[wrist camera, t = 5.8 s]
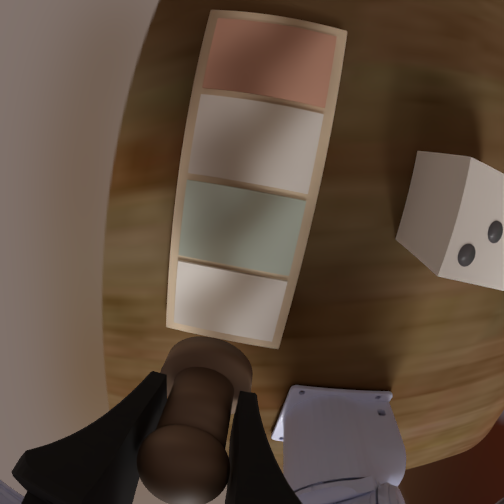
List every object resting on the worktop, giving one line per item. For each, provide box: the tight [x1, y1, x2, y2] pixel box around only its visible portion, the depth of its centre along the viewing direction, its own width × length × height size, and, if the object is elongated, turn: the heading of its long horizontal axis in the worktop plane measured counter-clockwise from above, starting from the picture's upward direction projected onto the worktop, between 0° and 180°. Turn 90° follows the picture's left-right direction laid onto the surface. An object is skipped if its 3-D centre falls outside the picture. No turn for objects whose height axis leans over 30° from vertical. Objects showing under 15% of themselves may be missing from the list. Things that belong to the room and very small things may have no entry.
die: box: [396, 151, 504, 291], centre depth 14 cm, size 6×6×6 cm
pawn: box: [137, 336, 252, 504], centre depth 10 cm, size 4×4×7 cm
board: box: [166, 10, 347, 349], centre depth 17 cm, size 8×21×1 cm, turn 170°
